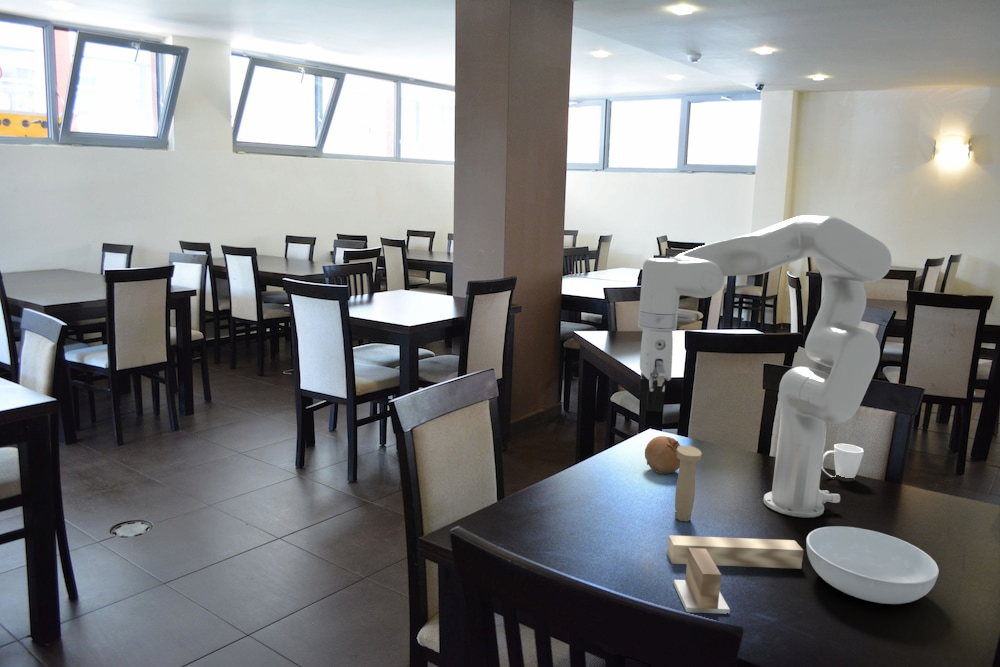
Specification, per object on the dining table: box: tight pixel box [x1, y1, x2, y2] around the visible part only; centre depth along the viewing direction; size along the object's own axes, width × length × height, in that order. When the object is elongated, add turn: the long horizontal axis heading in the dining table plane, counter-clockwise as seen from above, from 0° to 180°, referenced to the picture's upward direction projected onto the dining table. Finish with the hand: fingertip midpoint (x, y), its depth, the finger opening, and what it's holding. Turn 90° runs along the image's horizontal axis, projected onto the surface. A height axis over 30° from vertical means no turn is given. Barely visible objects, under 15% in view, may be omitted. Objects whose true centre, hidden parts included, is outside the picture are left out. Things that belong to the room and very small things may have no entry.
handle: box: [674, 445, 703, 522], centre depth 155 cm, size 5×6×15 cm
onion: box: [644, 435, 681, 475], centre depth 183 cm, size 10×9×10 cm
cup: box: [821, 442, 865, 478], centre depth 184 cm, size 7×10×8 cm
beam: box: [666, 534, 804, 570], centre depth 139 cm, size 24×4×4 cm, turn 91°
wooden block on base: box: [673, 548, 731, 615], centre depth 125 cm, size 7×9×7 cm
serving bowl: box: [805, 525, 940, 605], centre depth 131 cm, size 21×21×7 cm
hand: (650, 404), depth 151 cm, fingers open, 9 cm apart
